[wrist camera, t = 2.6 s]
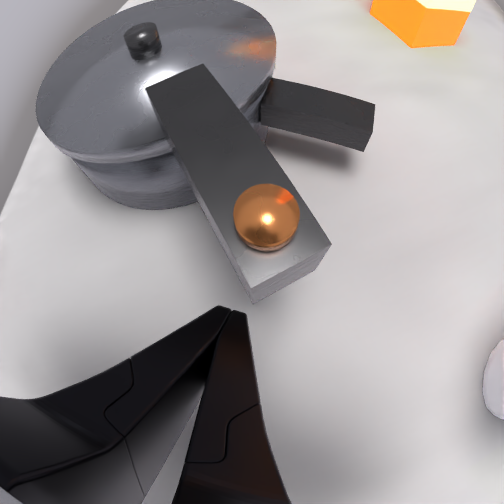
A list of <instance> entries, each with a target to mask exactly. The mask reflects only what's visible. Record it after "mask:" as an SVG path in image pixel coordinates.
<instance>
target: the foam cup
mask: <svg viewBox="0 0 504 504" xmlns="http://www.w3.org/2000/svg"><path fill="white" fill-rule="evenodd" d="M482 392H483V396H484V400H485V404H486V407H487V408H488V409H489V410H490V412H491V413H492V414H493V415H494V416H497V417H499V418H500V419H502V420H504V339H503V340H501V341H500V342H499V343H498V345H497V346H496V347H495V348H494V350H493V351H492V352H491V353H490V356H489V359H488V362H487V365H486V367H485V370H484V377H483V389H482Z"/></svg>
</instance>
